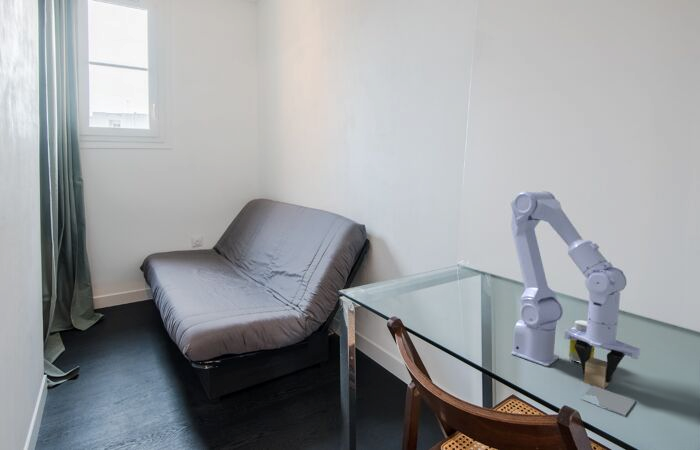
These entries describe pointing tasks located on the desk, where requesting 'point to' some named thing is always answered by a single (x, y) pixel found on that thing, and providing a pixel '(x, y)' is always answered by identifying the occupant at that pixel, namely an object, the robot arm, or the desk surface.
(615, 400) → the pad
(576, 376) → the desk surface
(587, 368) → the oak block
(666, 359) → the desk surface
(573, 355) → the supplement bottle
